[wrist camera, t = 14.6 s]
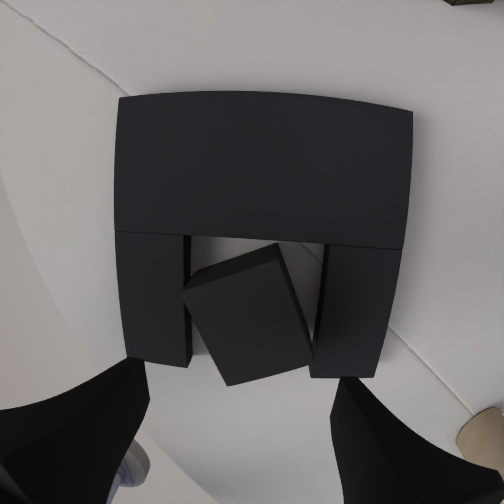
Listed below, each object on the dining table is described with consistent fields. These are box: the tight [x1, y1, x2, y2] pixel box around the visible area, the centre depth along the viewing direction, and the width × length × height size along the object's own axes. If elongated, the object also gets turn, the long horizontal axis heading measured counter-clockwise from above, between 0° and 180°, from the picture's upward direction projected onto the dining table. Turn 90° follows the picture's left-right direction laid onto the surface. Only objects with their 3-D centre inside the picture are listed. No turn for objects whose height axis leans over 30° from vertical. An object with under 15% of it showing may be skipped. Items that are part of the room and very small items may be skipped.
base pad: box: [114, 91, 413, 378], centre depth 17 cm, size 16×16×2 cm
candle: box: [456, 408, 504, 504], centre depth 16 cm, size 6×6×10 cm
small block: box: [181, 243, 315, 386], centre depth 17 cm, size 6×5×4 cm
